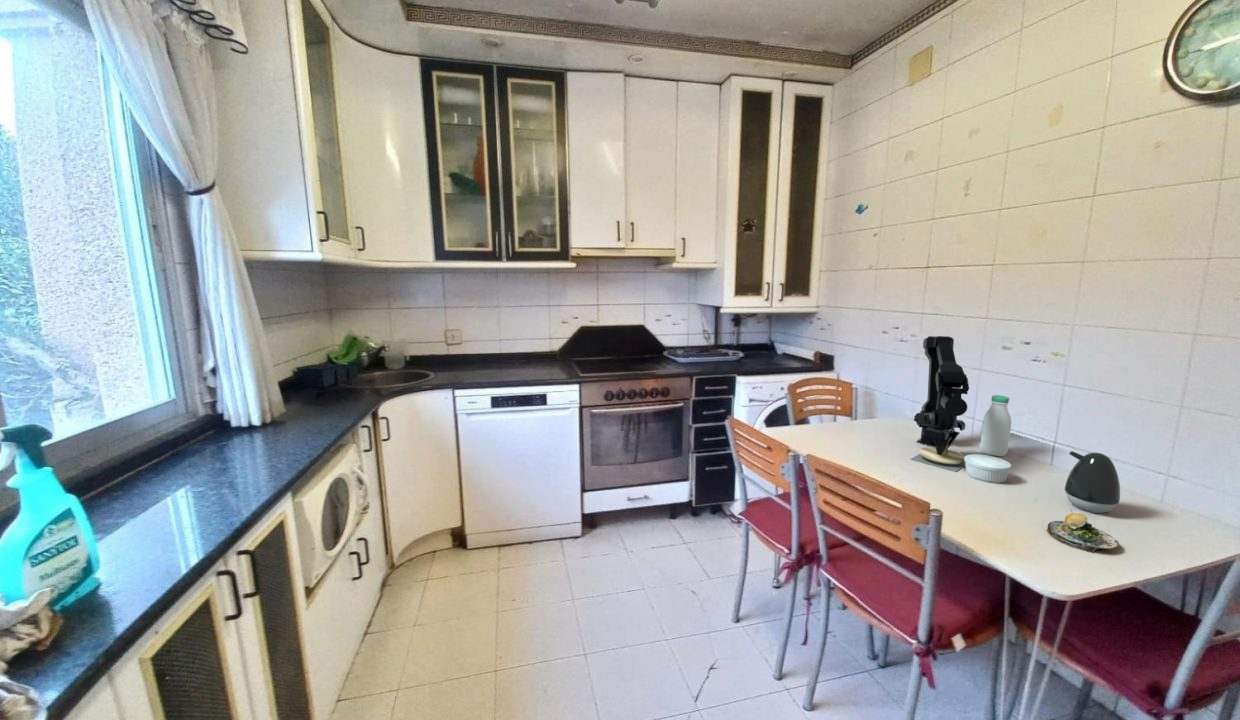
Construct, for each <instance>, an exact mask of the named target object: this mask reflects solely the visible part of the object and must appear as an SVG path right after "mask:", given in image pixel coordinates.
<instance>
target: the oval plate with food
mask: <svg viewBox="0 0 1240 720" xmlns="http://www.w3.org/2000/svg"><path fill="white" fill-rule="evenodd" d="M1069 508H1070V511H1071V513H1069V514H1067V515H1066V516H1065V517H1064V520H1053V521H1050V522H1048V524H1047V529H1046V531H1047V534H1048V535H1049V536H1050V537H1052V538H1053V539H1055V540H1056V541H1058V542H1060V543H1061V544H1064V545H1066V546H1069V547H1070V548H1074V549H1077V550H1081V551H1086V552H1087V553H1094V552H1095V551H1097V550H1099V549H1100V550H1110V549H1116V548H1117V547H1118V546H1119V544H1120V543H1119V541H1118V540H1117V539H1116V538H1114V537H1113V536H1111V534H1108V533H1106V532H1104V531H1103V530H1101V529H1098V528H1096V527H1093V524H1091V523H1089V522H1088V517H1087V516H1086V515H1084V514H1081V513H1078V512H1077V513H1073V510H1072V508H1071V507H1069Z"/></svg>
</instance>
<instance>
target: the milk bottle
mask: <svg viewBox="0 0 1240 720" xmlns="http://www.w3.org/2000/svg"><path fill="white" fill-rule="evenodd" d="M990 402H991V404H990V407H989V408H988V410H987V411H986V412H985V414H984V415H983V418H982V425H981V431H980V437H979V445H978V446H979V447H978V450H979V451H980V452H981V453H983V454H985V455H989V456H994V457H996V456H997V457H998V456H999V457H1005V456H1007V454H1008V451H1009V444H1010V437H1011V430H1012V429H1011V428H1012V419H1011V418H1012V417H1011V414H1010V412H1009V410H1008V409H1009V408H1008V404H1009V402H1010V397H1009V396H1004V395H998V394H995V395H992V396H991V401H990Z"/></svg>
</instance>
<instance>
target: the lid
mask: <svg viewBox="0 0 1240 720" xmlns="http://www.w3.org/2000/svg"><path fill="white" fill-rule="evenodd" d="M949 448H950V447H949V444H948V445H947V447H946V448H945V450H944V452H943V453H942V455H938V454H937V450H936V447H933V446H930V447H923V448H920V449H919V451H918V452H919V453H918V455H919V454H920V456H922V457H923V458H925V459H928V460H931V461H934V462H938V463H944V464H962V463H964V458H965V456H964V455H963V454H961V453H959V452H956V451H953V450H951V449H949Z"/></svg>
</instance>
